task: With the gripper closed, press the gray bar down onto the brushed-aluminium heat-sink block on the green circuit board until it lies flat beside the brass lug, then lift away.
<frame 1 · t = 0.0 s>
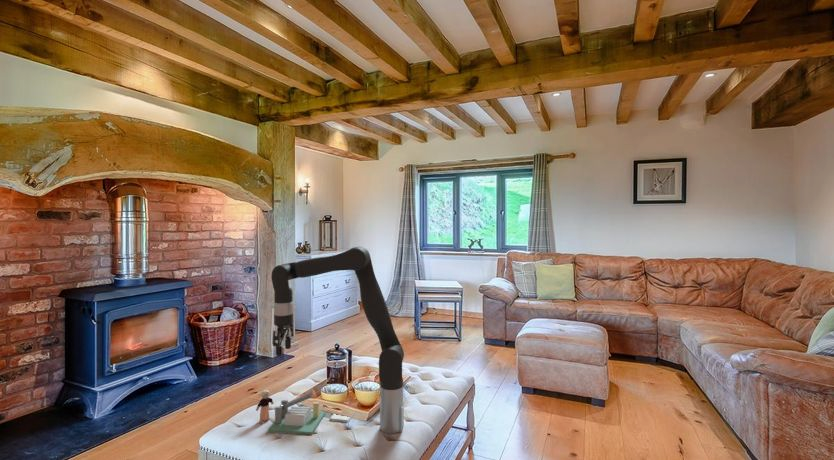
hand: (283, 351, 159), 29 cm above the table, fingers open, 8 cm apart
external hard drive: (344, 415, 167), on the table
gray bar: (295, 401, 159), point 9 cm above the table, hinge at 25.0°
grandmother figurine: (265, 420, 161), on the table
board: (297, 422, 159), on the table
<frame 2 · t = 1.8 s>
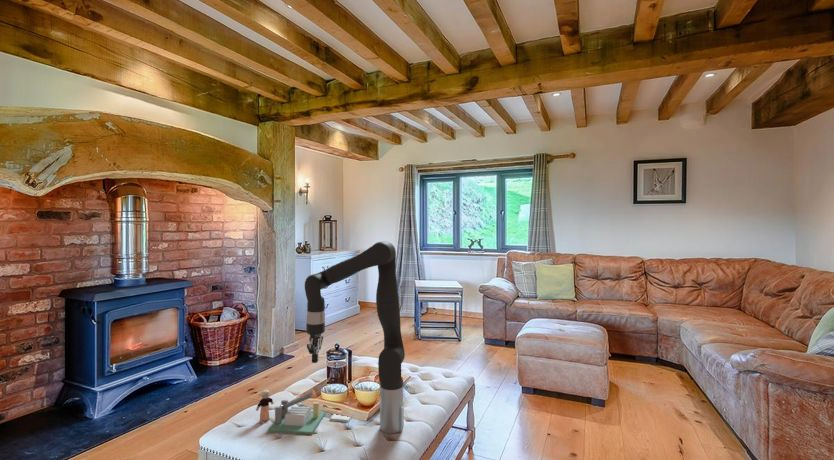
hand: (314, 362, 162), 24 cm above the table, fingers closed
nothing on the table moved.
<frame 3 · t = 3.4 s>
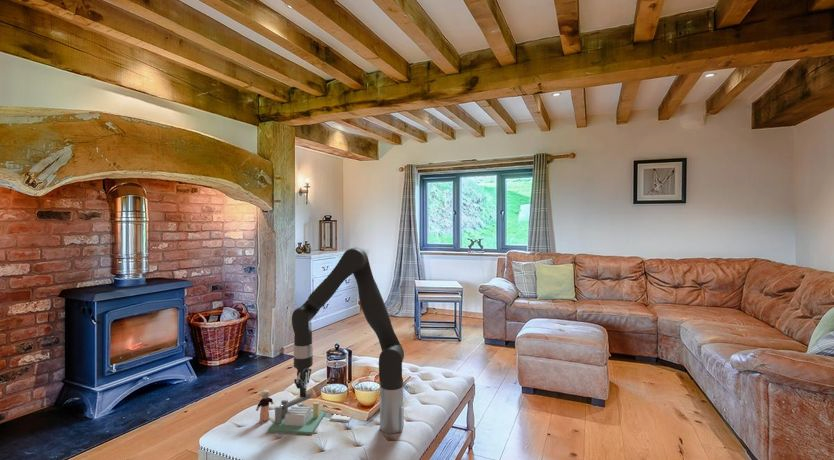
hand: (303, 396, 159), 11 cm above the table, fingers closed
gray bar: (295, 401, 159), point 9 cm above the table, hinge at 24.3°, touching gripper
everything else where it was.
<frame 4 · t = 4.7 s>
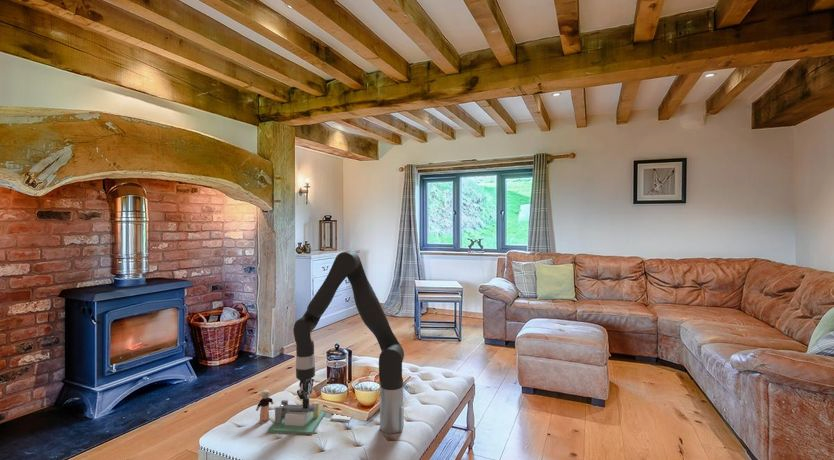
hand: (306, 407, 159), 7 cm above the table, fingers closed
gray bar: (297, 407, 159), point 6 cm above the table, hinge at 1.0°, touching gripper
everything else where it was.
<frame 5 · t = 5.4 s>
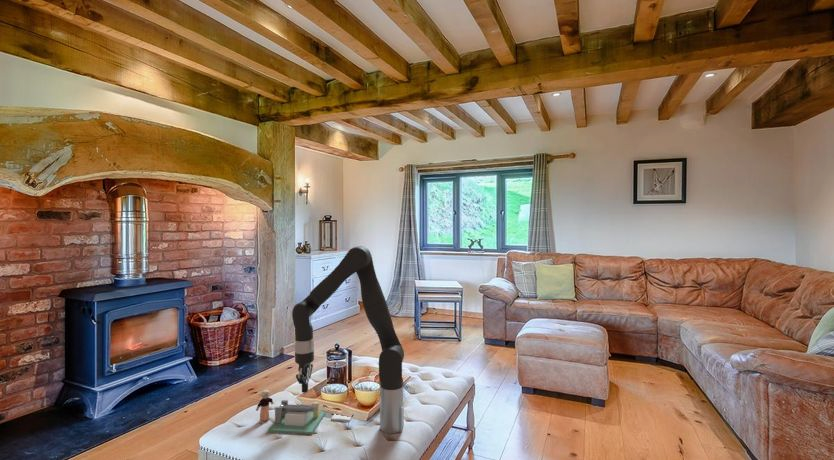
hand: (305, 391, 159), 13 cm above the table, fingers closed
gray bar: (297, 407, 159), point 6 cm above the table, hinge at 1.0°
everything else where it was.
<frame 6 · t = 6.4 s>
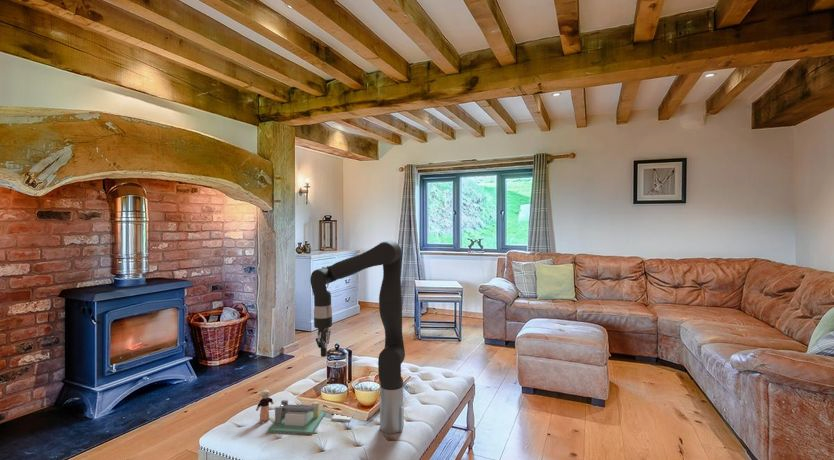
hand: (323, 356, 164), 26 cm above the table, fingers closed
nothing on the table moved.
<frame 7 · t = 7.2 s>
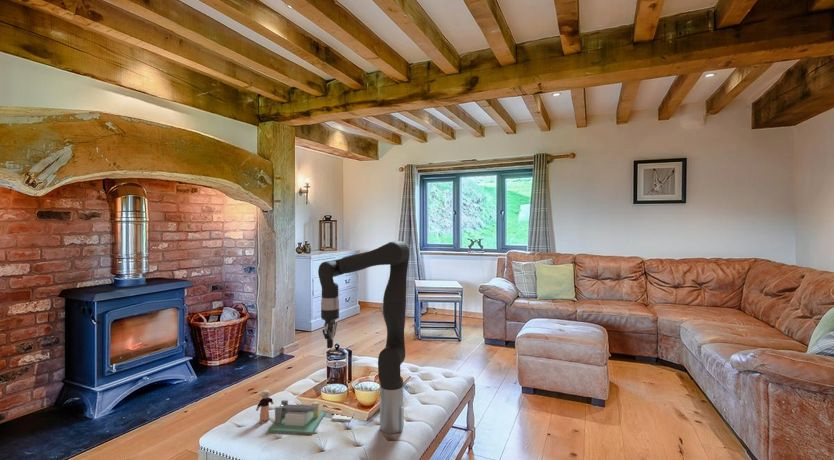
hand: (330, 347, 166), 29 cm above the table, fingers closed
nothing on the table moved.
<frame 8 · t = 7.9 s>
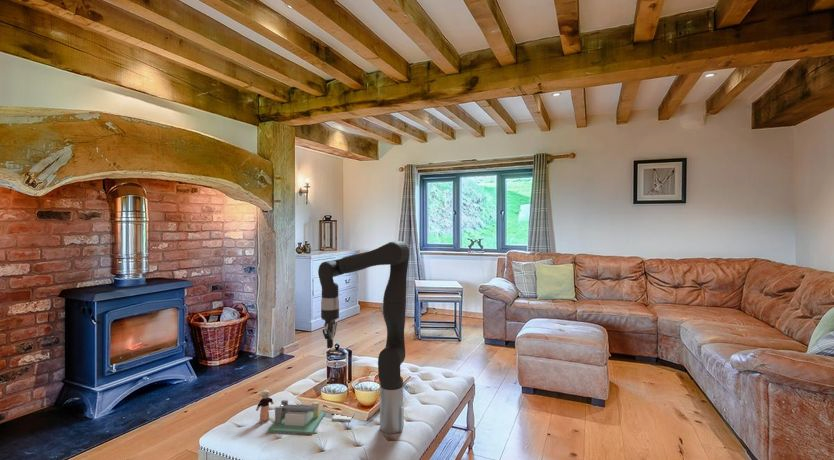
hand: (330, 347, 166), 29 cm above the table, fingers closed
nothing on the table moved.
at the end: gray bar at +1° (first picture: +25°) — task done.
